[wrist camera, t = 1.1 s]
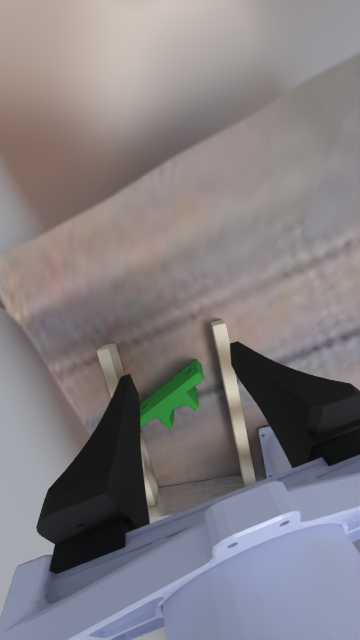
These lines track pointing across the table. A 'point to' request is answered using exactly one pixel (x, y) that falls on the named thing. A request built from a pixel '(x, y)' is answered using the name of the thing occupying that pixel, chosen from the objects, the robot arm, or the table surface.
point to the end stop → (191, 495)
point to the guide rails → (115, 371)
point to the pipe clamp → (173, 396)
